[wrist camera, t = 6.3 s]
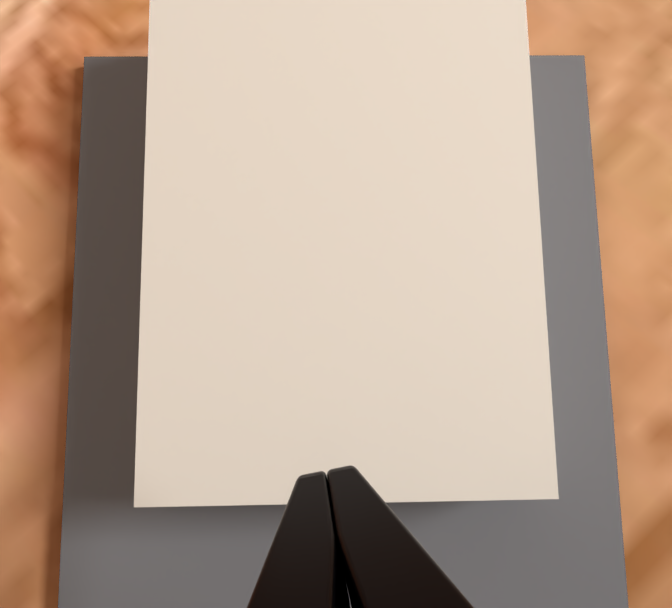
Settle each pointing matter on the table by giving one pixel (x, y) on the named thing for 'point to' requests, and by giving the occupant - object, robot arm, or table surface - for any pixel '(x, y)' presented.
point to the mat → (263, 520)
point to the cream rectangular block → (341, 253)
